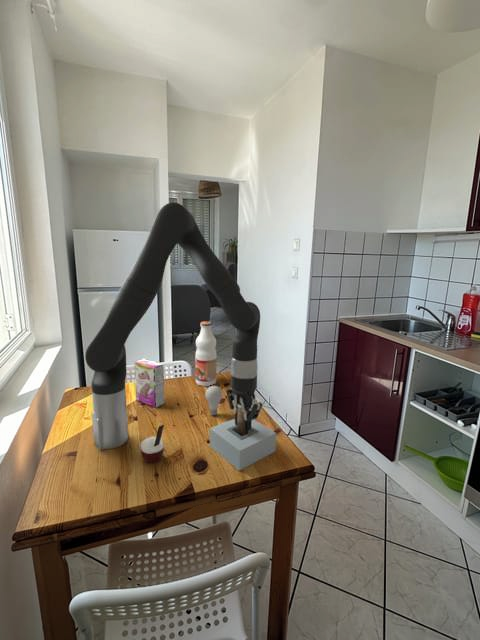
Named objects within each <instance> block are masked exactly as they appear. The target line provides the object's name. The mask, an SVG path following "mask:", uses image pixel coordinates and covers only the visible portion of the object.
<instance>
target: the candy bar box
mask: <svg viewBox="0 0 480 640" xmlns="http://www.w3.org/2000/svg"><path fill="white" fill-rule="evenodd" d="M164 370H165V369H164V364H163V363H160V362H156V361H153V360H149V359H147V358H141V359H138V360H135V361H134V376H135V396H136V397H135V398H136V401H138V402H139V403H143V404H145V405H148V406H150V407H152V408H154V409H155V408H156V409H157V408H159V407H161V406H163V405H164V404H165V376H164V374H165V371H164Z"/></svg>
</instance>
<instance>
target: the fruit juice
mask: <svg viewBox="0 0 480 640" xmlns="http://www.w3.org/2000/svg"><path fill="white" fill-rule="evenodd" d="M212 326H213V325H212V322H211V321H207V320H206V321H201V322H200V332H199V334H198V336H197V337H196V339H195V347H196V349H195V350H196V351H195V353H194V354H195V355H194V358H195V360H194V361H195V384H196V383H197V384H198V385H197V384H196V385H197V386H199V385H202V386H201V387H211V386H210V385H212V386H214V385H216V383H217V370H218V369H217V363H218V362H217V360H218V359H217V357H218V356H217V350H216V347H217V339H216V337H215V335H214V334H213V332H212ZM213 384H214V385H213Z"/></svg>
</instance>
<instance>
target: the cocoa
mask: <svg viewBox="0 0 480 640" xmlns="http://www.w3.org/2000/svg"><path fill="white" fill-rule="evenodd" d="M164 425H165V424H162V425H159V426H158V429H157V432H156V436H153V435H152V436H149V437H147V438H145V439H143V440H142V441H141V442H140V445H139V446H140V453H141V456H142V458H143V460H144V461H145V462H147V463H155V462H157V461H159V460H161V458H162V457H163V456H164V451H165V450H164V448H165V446H164V442H163V439H162V434H163V430H164V427H165V426H164Z"/></svg>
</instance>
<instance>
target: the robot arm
mask: <svg viewBox="0 0 480 640" xmlns="http://www.w3.org/2000/svg"><path fill="white" fill-rule="evenodd" d="M152 223H153V224H152V226H151V228H150V231H149V232H148V233H149V234H148V236H147V239H146V240H145V243H144V245H143V246H142V249H141V250H140V253H138V256H137V257H136V259H135V261H134V263H133V265H132V267H131V269H130V270H129V272H128V274H127V275H126V277H125V279H124V281H123V283H122V285H121V286H120V288H119V291H118V293H117V296H116V297H115V299H114V301H113V303H112V304H111V307H110V310H109V312H108V315H107V317H106V319H105V321H104V322H103V325H102V326H101V327H100V329H99V331H97V334H96V335H95V336H94V338H93V339H92V340H91V342H90V343H89V345H88V347H87V348H86V350H85V356H84V357H85V358H84V359H85V363H86V364H87V366H88V367H89V368H90V370H92V371H94V373H93V376H92V377H93V378H92V379H91V380H92V381H91V393H92V394H91V395H92V406H93V412H92V413H91V419H92V431H93V434H92V435H93V442H94V443H95V445H96V446H97V448H98V450H100V451H102V450H107V449H108V450H110V449H114V448H118V447H121V446H122V445H124V444H126V442H127V441H128V439H129V429H128V413H127V412H128V410H127V391H126V378H127V350H126V345H125V344H126V342H127V340H128V338H129V336H130V335H131V333H132V332H133V330H134V329H135V327H136V326H137V324H138V323H140V322H141V320H142V318H144V316H145V314H146V313H147V312H148V310H149V309H150V308H151V305H152V303H153V301H154V300H155V298H156V296H157V295H158V292H159V290H160V289H161V287H162V286H161V285H162V283H163V279H164V273H165V270H166V266H167V262H168V259H169V257H170V255H171V254H172V252H173V250H174V248H175V247H176V246H177V245H178V246H180V248H182V250H184V252H185V253H186V254H187V255H188V257H189V258H190V259H191V260H192V262H193V264H194V265H195V267H196V269H197V270H198V272H199V275H200V276H201V278H202V280H203V281H204V283H205V285H206V286H207V287H208V289H209V290H210V291H211V293H212V294H213V295H214V296H215V298H216V299H217V301H219V304H220V306H221V308H222V310H223V312H224V314H225V316H226V318H227V320H228V322H229V323H230V324H231V325H232V327H234V328H235V329H236V330H235V334H234V335H235V336H234V338H233V341H232V344H231V345H232V347H231V349H232V351H231V354H232V355H231V356H232V357H231V362H230V363H231V364H230V388H229V389H226V396H227V399H228V400H227V401H228V406H229V409H230V410H233V414H234V419H235V425H237V415H238V404H239V405H241V407H242V412H243V413H244V429H243V430H244V431H248V430H250V429H251V423H252V420H256V419H258V416H259V414H260V412H261V410H262V407H263V403H262V402H260V401H259V402H258V401H257V399H256V395H255V394H256V393H255V392H256V390H257V388H258V338H259V332H260V323H261V312H260V309H259V307H258V305H257V304H255V303H254V302H252V301H246V299H245V298H244V297H243V295H242V293H241V287H240V285H239V284H238V282H237V281H236V279H235V278H234V277H233V276H232V274H231V272H230V271H229V270H228V269H227V268H226V267H225V265H224V264H223V262H222V261H221V260H220V259H219V257H217V255H216V254H215V253H214V251H213V250H212V248H211V247H210V246H209V244H208V243H207V241H206V239H205V237H204V235H203V234H202V232H201V230H200V228H199V226H198V223H197V222H196V219H195V217H194V216H193V214H192V213H191V212H190V211H189V210H188V209H187V208H186V207H185V206H183V205H182V204H180V203H178V202H169V203H166V204H164V205H163V206H162V207H161V208H160V209H159V210H158V212H157V214H156V216H155V218H154V221H153V222H152ZM247 407H249V408H247ZM246 408H247V409H246ZM248 412H249V415H248V414H247V413H248Z"/></svg>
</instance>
